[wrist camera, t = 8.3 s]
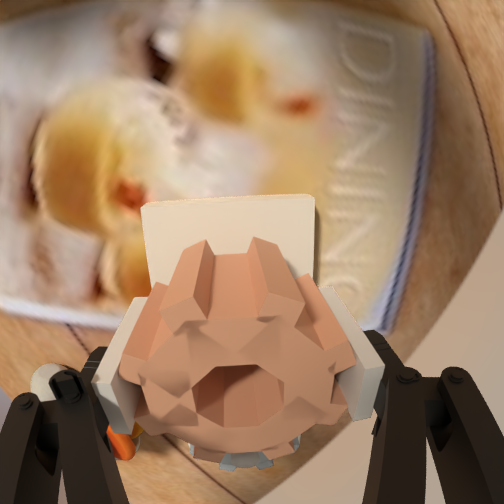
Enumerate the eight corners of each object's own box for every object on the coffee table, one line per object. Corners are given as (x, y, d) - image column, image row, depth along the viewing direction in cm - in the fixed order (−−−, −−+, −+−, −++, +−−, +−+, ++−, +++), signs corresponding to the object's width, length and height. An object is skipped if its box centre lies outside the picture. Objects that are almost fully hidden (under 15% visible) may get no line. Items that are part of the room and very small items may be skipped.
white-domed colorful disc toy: (155, 436, 24) (144, 504, 17) (59, 420, 23) (35, 477, 16) (140, 365, 21) (117, 442, 14) (31, 350, 20) (-11, 408, 13)
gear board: (191, 439, 24) (188, 496, 18) (147, 202, 17) (111, 231, 12) (296, 433, 24) (309, 488, 19) (307, 193, 18) (344, 218, 12)
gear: (167, 381, 17) (151, 461, 12) (141, 242, 15) (95, 299, 9) (310, 372, 18) (337, 450, 12) (318, 233, 15) (368, 284, 9)
